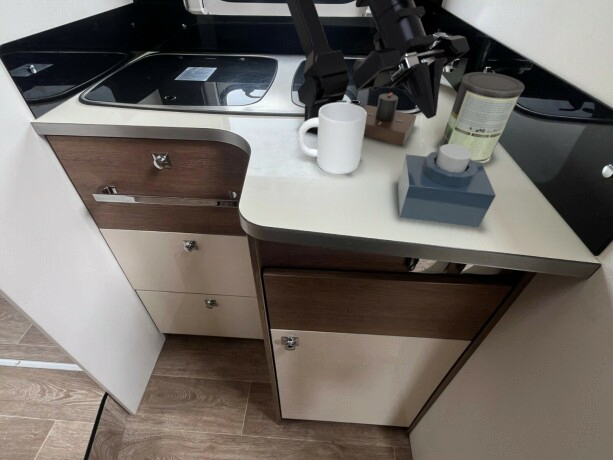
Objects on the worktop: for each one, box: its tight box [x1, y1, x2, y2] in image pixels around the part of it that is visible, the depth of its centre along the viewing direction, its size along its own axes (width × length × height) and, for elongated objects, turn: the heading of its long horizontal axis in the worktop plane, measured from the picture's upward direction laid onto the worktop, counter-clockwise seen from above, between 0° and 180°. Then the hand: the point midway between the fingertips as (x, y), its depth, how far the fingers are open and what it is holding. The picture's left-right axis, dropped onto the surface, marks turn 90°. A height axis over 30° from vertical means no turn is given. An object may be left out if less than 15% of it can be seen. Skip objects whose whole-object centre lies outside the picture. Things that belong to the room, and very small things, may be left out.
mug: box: [296, 102, 367, 175], centre depth 58 cm, size 12×8×10 cm
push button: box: [436, 144, 472, 173], centre depth 47 cm, size 4×4×2 cm
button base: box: [397, 150, 496, 228], centre depth 50 cm, size 12×9×8 cm
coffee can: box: [438, 71, 525, 165], centre depth 61 cm, size 10×10×14 cm
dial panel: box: [362, 104, 417, 147], centre depth 71 cm, size 12×10×3 cm
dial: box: [376, 92, 399, 122], centre depth 68 cm, size 4×4×5 cm
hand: (431, 117), depth 47 cm, fingers closed
